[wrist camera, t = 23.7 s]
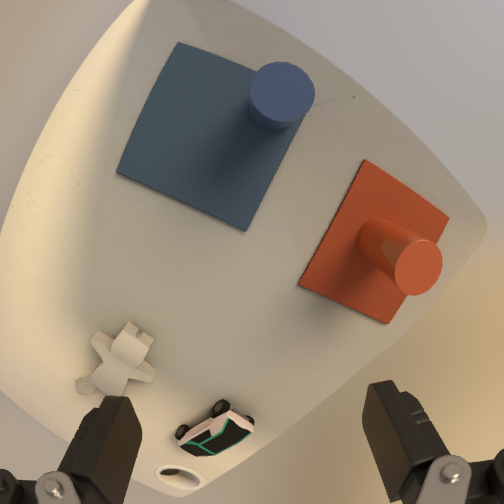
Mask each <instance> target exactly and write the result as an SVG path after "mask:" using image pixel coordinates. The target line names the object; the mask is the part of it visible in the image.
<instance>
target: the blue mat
mask: <svg viewBox="0 0 504 504" xmlns="http://www.w3.org/2000/svg"><path fill="white" fill-rule="evenodd" d="M255 73H256V71H254V70H252V69H249V68H247V67H245V66H242V65H240V64H237V63H235V62H232V61H230V60H227V59H225V58H222V57H220V56H217V55H214V54H212V53H209V52H206V51H204V50H201V49H198V48H195V47H192V46H189V45H186V44H183V43H180V42H178V43H177V45H176V47H175V48H174V50H173V52H172V54H171V55H170V57H169V59H168V61H167V62H166V64H165V66H164V68H163V70H162V72H161V74H160V75H159V77H158V79H157V81H156V83H155V85H154V87H153V89H152V91H151V93H150V95H149V97H148V99H147V101H146V103H145V105H144V107H143V109H142V112H141V114H140V116H139V118H138V120H137V123H136V125H135V127H134V129H133V132H132V134H131V136H130V138H129V141H128V143H127V146H126V148H125V150H124V153H123V155H122V158H121V160H120V163H119V165H118V168H117V171H116V172H118V173H120V174H123V175H125V176H127V177H129V178H131V179H134V180H136V181H138V182H140V183H143V184H145V185H147V186H149V187H151V188H154V189H156V190H158V191H160V192H162V193H165V194H167V195H169V196H171V197H173V198H176V199H178V200H180V201H182V202H184V203H187V204H189V205H191V206H193V207H195V208H197V209H200V210H202V211H204V212H206V213H208V214H210V215H213V216H215V217H217V218H219V219H221V220H223V221H225V222H228V223H230V224H232V225H234V226H236V227H238V228H241V229H243V230H245V231H247V229H248V227H249V225H250V223H251V221H252V219H253V217H254V215H255V213H256V211H257V209H258V207H259V205H260V203H261V201H262V199H263V197H264V195H265V193H266V191H267V189H268V187H269V185H270V183H271V181H272V179H273V177H274V175H275V173H276V172H277V170H278V168H279V166H280V164H281V162H282V160H283V158H284V156H285V154H286V152H287V150H288V148H289V146H290V144H291V142H292V140H293V138H294V136H295V134H296V132H297V130H298V128H299V126H300V124H301V122H302V120H303V118H304V117H305V115H306V114H305V115H304V116H302V117H301V118H299V119H298V120H297V121H295V122H294V123H293V124H291V125H290V126H288V127H287V128H285V129H283V130H281V131H275V132H274V131H266V130H264V129H261V128H260V127H258V126H257V125H256V124H255V123H254V122H253V121H252V119H251V117H250V114H249V88H250V83H251V80H252V78H253V76H254V75H255Z"/></svg>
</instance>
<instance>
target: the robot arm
mask: <svg viewBox="0 0 504 504" xmlns="http://www.w3.org/2000/svg"><path fill="white" fill-rule="evenodd" d="M362 423H363V429H364V432H365V434H366V437H367V440H368V443H369V445H370V448H371V451H372V453H373V456H374V459H375V461H376V464H377V467H378V470H379V472H380V475H381V478H382V480H383V483H384V486H385V489H386V492H387V495H388V498H389V500H390V503H392V502H395V501H399V500H401V501H402V503H403V504H504V449H502V450H501V451H500V452H499V453H498V454H497V455H496V457H495V458H494V459H493V460H487V461H480V462H472V463H468V462H467V461H466V460H465V459H463V458H461V457H459V456H456V455H451V454H450V453H449V451H448V450H447V448H446V446H445V444H444V443H443V441H442V439H441V438H440V436H439V434H438V432H437V431H436V429H435V427H434V425H433V424H432V422H431V421H430V420H429V417H428V415H427V414H426V412H424V409H423V407H422V406H421V404H420V403H419V401H418V399H417V398H415V397H414V396H413V395H411V394H410V393H408V392H407V391H405V392H401V393H400V392H399V391H398V389H397V387H396V386H395V384H394V382H393V381H392V380H387V381H383V382H377V383H372V384H370V385H369V386H368V390H367V395H366V400H365V405H364V409H363V414H362ZM74 437H75V438H73V439H72V441H71V443H70V445H69V447H68V449H67V451H66V453H65V456H64V457H63V460H62V462H61V464H60V466H59V468H58V470H57V471H52V472H48V473H45V474H44V475H42V476H41V477H40V478H39V479H38V481H30V480H17V479H16V478H15V477H14V476H13V475H12V474H11V473H10V472H9V471H7V470H5V469H0V504H123V502H124V498H125V495H126V491H127V488H128V484H129V481H130V477H131V474H132V471H133V467H134V464H135V461H136V458H137V454H138V451H139V448H140V445H141V441H142V428H141V425H140V422H139V420H138V418H137V416H136V413H135V411H134V408H133V406H132V404H131V401H130V399H129V398H128V397H124V396H113V395H107V396H105V398H104V399H103V401H102V403H101V405H100V407H99V408H93V409H92V410H91V411H90V412H89V413H88V414H87V415H85V416H84V418H83V420H82V422H81V424H80V426H79V430H77V431H76V433H75V435H74Z"/></svg>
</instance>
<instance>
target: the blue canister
mask: <svg viewBox="0 0 504 504" xmlns="http://www.w3.org/2000/svg"><path fill="white" fill-rule="evenodd" d="M314 97H315V90H314V85H313V82H312V80H311V78H310V77H309V75H308V74H307V73H306V72H305V71H304V70H303V69H301V68H300V67H298V66H297V65H294V64H292V63H288V62H273V63H270V64H267V65H265V66H263V67H262V68H260V69H259V70H258V71H257V72H256V73H255V75H254V76H253V78H252V80H251V83H250V88H249V114H250V117H251V119H252V121H253V122H254V123H255V124H256V125H257V126H258V127H260V128H261V129H264V130H266V131H274V132H275V131H281V130H283V129H285V128H287V127H288V126H290V125H291V124H293V123H294V122H295V121H297V120H298V119H299V118H301V117H302V116H304V115H305V114H306V113H307V112H308V111H309V110H310V108H311V106H312V104H313V102H314Z"/></svg>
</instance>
